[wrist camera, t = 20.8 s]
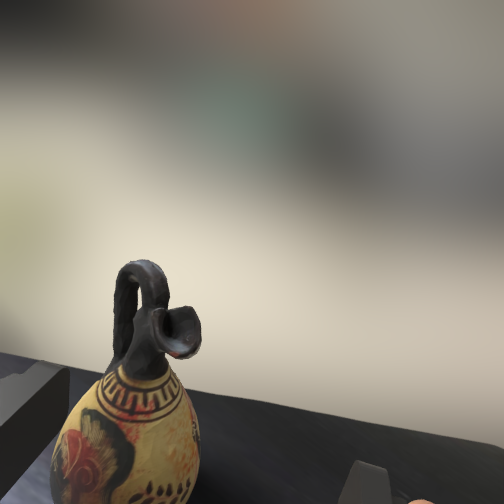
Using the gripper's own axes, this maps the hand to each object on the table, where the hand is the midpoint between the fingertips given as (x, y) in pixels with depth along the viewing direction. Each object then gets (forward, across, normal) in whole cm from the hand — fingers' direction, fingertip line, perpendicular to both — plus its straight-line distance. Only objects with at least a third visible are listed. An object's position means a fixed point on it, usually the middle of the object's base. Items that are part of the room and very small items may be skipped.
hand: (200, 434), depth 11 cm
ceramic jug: (+22, +11, +38) cm, 46 cm away
